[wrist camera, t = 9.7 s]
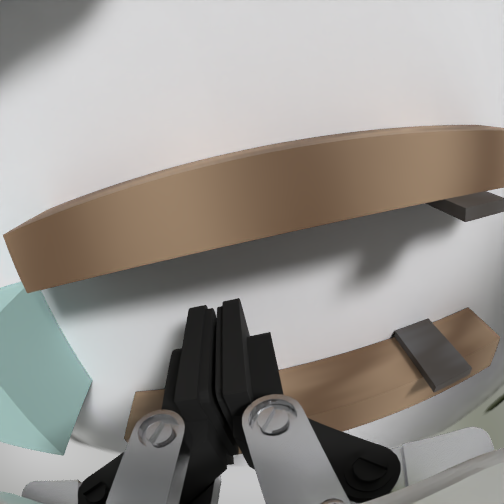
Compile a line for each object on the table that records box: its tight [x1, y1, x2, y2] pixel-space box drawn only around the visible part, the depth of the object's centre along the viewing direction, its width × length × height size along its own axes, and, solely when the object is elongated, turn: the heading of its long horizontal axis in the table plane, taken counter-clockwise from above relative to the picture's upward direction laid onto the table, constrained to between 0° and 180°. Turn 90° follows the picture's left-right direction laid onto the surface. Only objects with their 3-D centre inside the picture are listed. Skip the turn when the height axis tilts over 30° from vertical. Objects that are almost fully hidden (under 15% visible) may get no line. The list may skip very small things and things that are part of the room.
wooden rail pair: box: [3, 125, 504, 454], centre depth 10 cm, size 18×12×4 cm, turn 102°
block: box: [0, 282, 92, 455], centre depth 9 cm, size 6×6×5 cm
